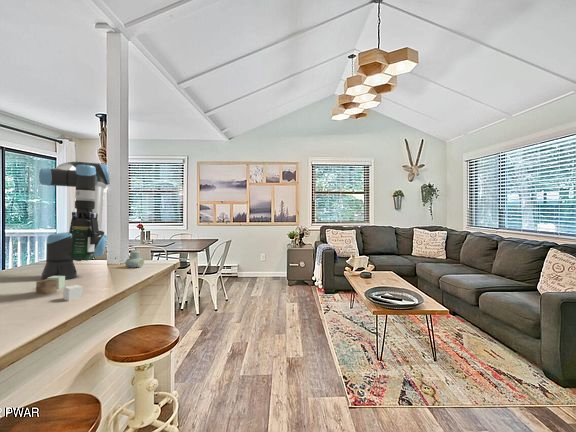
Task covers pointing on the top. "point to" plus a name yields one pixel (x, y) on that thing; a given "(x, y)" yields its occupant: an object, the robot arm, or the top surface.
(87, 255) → the coffee jar
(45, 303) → the top surface
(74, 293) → the off-white block
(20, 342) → the top surface
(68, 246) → the robot arm
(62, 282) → the sage block
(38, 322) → the top surface
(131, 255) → the air freshener
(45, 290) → the walnut block
